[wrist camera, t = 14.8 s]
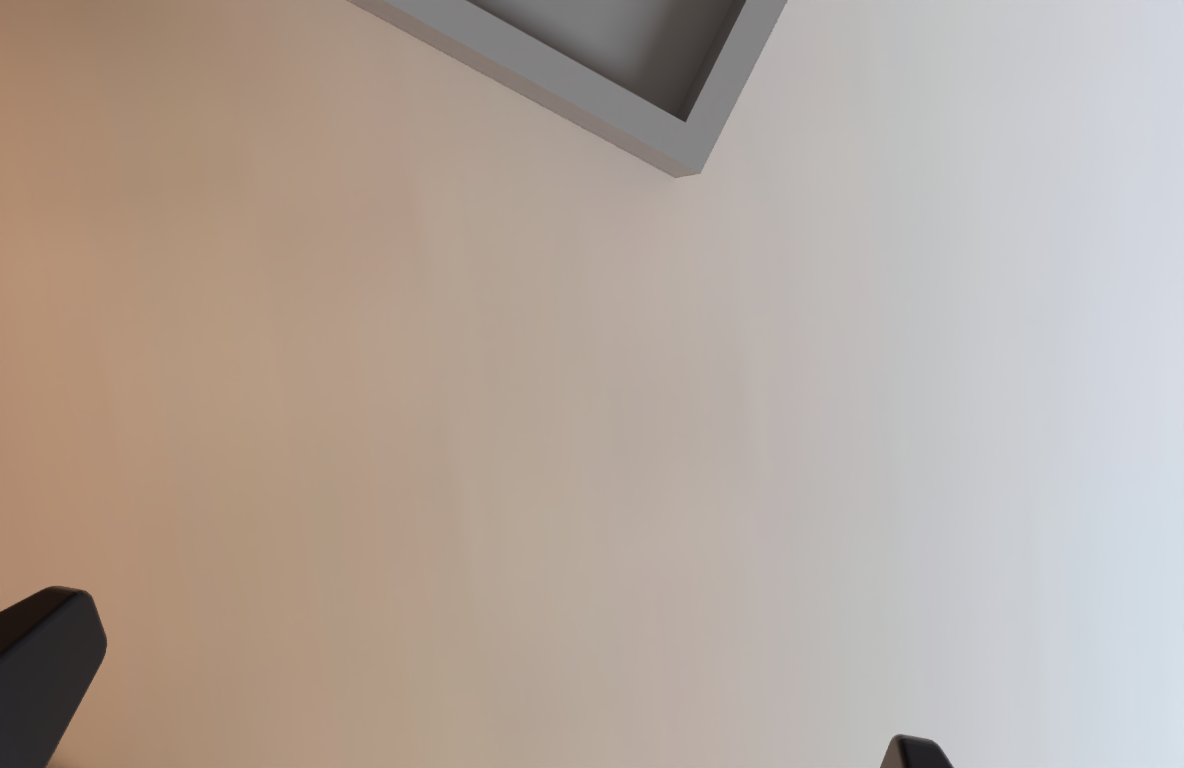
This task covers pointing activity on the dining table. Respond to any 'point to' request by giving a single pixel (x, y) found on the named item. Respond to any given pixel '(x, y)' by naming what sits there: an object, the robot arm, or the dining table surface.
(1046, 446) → the dining table surface
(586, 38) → the tray
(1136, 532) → the dining table surface
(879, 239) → the dining table surface
